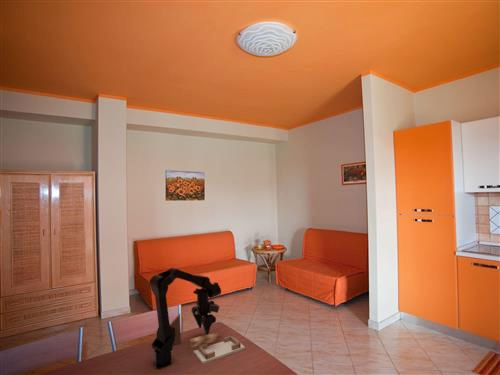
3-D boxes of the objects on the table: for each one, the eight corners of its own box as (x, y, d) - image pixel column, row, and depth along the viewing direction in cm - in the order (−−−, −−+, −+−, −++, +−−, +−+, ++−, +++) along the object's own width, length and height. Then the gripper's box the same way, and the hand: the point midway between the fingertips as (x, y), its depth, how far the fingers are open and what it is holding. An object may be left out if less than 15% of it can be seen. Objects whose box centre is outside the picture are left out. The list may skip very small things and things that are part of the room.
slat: (191, 348, 146) (191, 342, 146) (189, 344, 149) (189, 338, 149) (218, 341, 152) (218, 335, 152) (216, 338, 155) (215, 332, 155)
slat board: (202, 364, 131) (202, 357, 131) (193, 352, 141) (193, 346, 141) (244, 349, 143) (244, 342, 143) (234, 339, 152) (234, 333, 152)
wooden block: (179, 344, 149) (179, 308, 150) (158, 345, 148) (157, 310, 149) (180, 340, 153) (179, 305, 153) (159, 342, 152) (158, 307, 152)
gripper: (225, 302, 147) (225, 333, 147) (209, 292, 163) (210, 320, 163) (204, 307, 141) (205, 340, 141) (190, 296, 157) (191, 325, 157)
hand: (203, 331), depth 150 cm, fingers open, 9 cm apart
